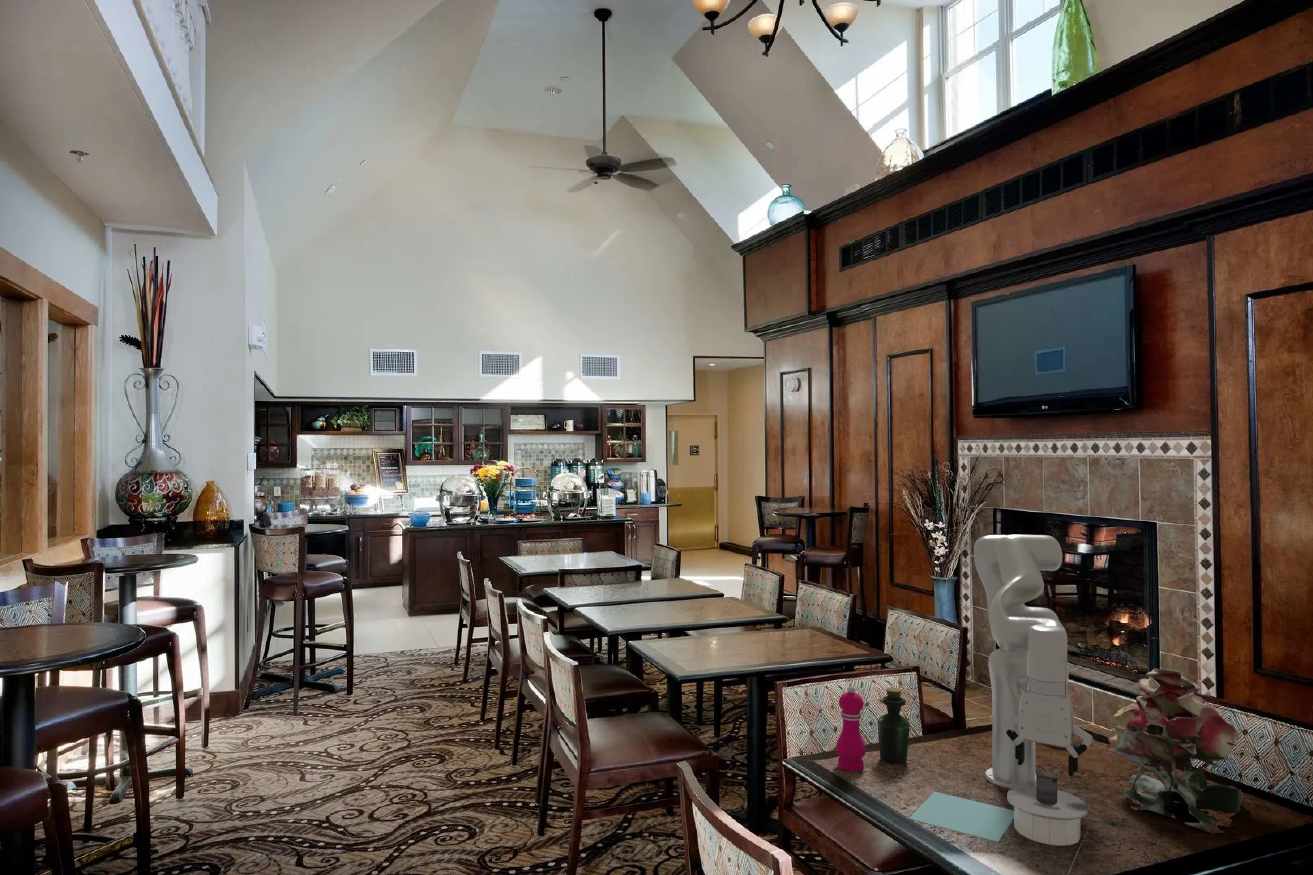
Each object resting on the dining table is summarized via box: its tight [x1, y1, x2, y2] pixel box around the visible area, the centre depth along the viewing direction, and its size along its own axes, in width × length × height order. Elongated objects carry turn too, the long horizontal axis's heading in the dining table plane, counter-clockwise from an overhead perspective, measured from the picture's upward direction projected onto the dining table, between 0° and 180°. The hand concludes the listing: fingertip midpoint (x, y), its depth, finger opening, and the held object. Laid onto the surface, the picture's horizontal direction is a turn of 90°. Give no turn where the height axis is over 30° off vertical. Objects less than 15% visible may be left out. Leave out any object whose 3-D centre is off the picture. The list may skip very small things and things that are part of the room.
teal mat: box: [908, 791, 1014, 843], centre depth 179 cm, size 18×18×1 cm
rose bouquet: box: [1105, 667, 1244, 831], centre depth 189 cm, size 26×29×30 cm
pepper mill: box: [835, 685, 867, 772], centre depth 208 cm, size 7×7×20 cm
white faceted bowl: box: [1013, 806, 1081, 847], centre depth 171 cm, size 12×12×6 cm
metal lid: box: [1006, 771, 1088, 820], centre depth 172 cm, size 15×15×6 cm
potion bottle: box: [876, 687, 911, 766], centre depth 213 cm, size 8×8×18 cm
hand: (1045, 768), depth 172 cm, fingers open, 9 cm apart
